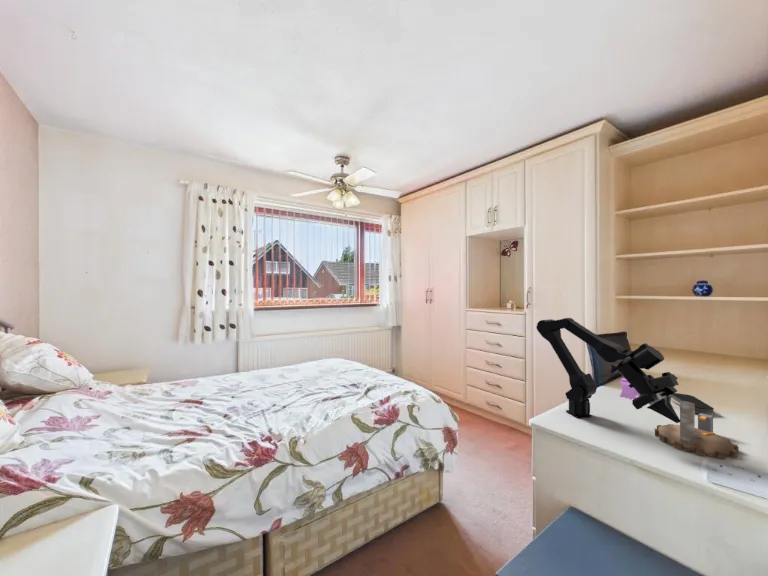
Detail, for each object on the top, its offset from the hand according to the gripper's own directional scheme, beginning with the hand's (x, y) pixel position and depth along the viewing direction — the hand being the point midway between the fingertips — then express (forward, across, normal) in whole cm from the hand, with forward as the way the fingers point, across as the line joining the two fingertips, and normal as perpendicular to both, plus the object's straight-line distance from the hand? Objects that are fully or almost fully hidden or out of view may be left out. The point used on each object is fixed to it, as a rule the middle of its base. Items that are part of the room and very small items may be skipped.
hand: (678, 422), depth 98 cm
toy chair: (-15, +41, +25) cm, 50 cm away
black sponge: (-2, +46, +12) cm, 48 cm away
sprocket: (+6, +8, +4) cm, 11 cm away
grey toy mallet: (+6, +19, +5) cm, 20 cm away
